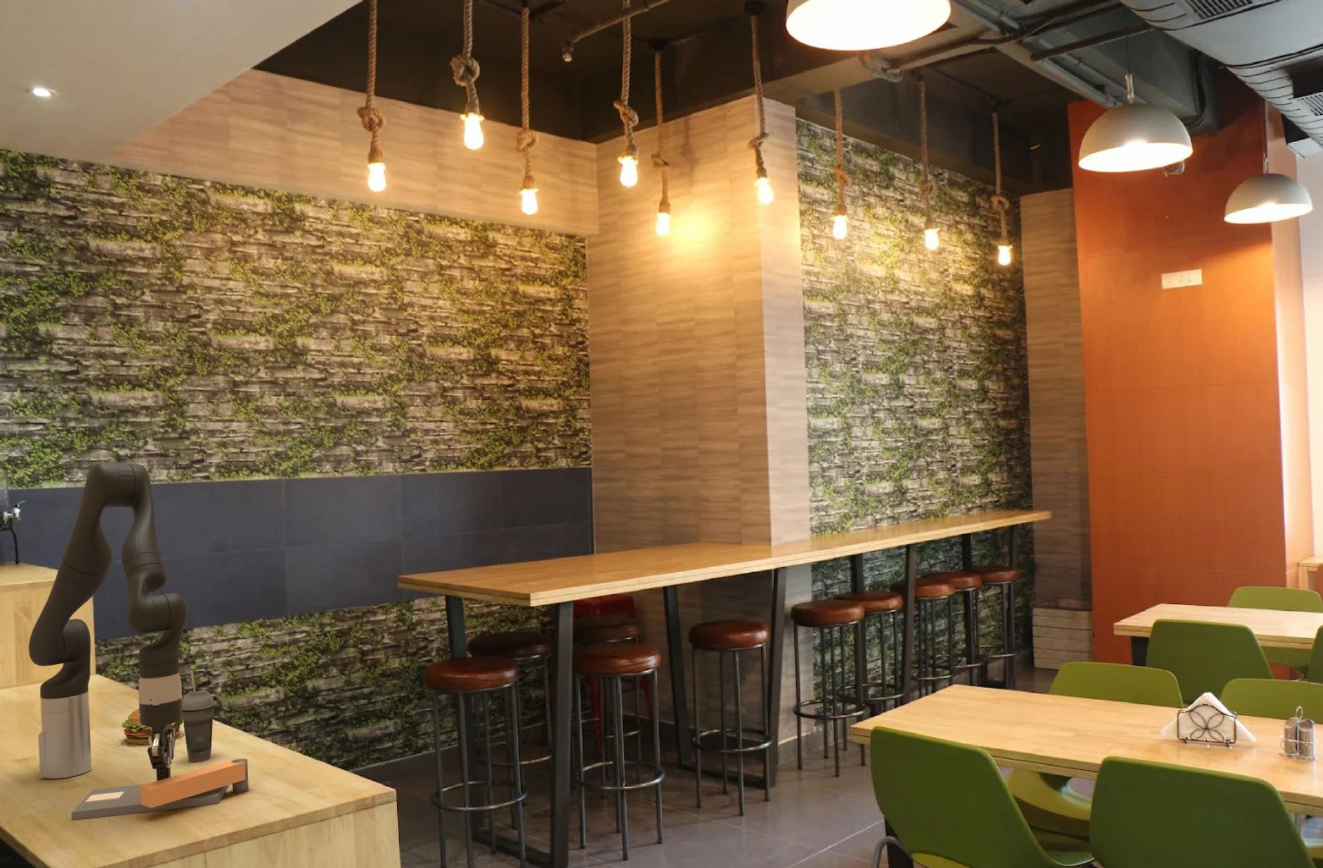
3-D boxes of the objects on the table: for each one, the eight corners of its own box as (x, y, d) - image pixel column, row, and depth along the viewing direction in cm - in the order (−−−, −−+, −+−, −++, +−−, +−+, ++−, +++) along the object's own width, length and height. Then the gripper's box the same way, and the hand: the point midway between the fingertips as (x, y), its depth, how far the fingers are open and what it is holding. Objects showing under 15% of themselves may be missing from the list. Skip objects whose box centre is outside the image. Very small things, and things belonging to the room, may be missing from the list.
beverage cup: (204, 764, 232) (200, 673, 233) (174, 763, 234) (171, 673, 234) (224, 754, 239) (220, 666, 240) (195, 753, 241) (192, 666, 241)
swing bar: (241, 774, 215) (240, 757, 215) (252, 777, 212) (251, 760, 212) (140, 804, 199) (140, 785, 199) (151, 807, 196) (150, 789, 196)
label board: (71, 820, 199) (71, 808, 199) (93, 796, 213) (93, 785, 213) (242, 800, 206) (242, 789, 206) (253, 779, 219) (253, 768, 219)
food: (119, 750, 247) (118, 716, 247) (124, 736, 260) (123, 704, 260) (184, 741, 253) (182, 708, 253) (185, 728, 266) (183, 696, 266)
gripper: (148, 691, 210) (151, 778, 210) (130, 707, 197) (134, 800, 197) (188, 688, 211) (191, 774, 211) (173, 703, 198) (177, 795, 198)
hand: (164, 786), depth 204 cm, fingers closed
